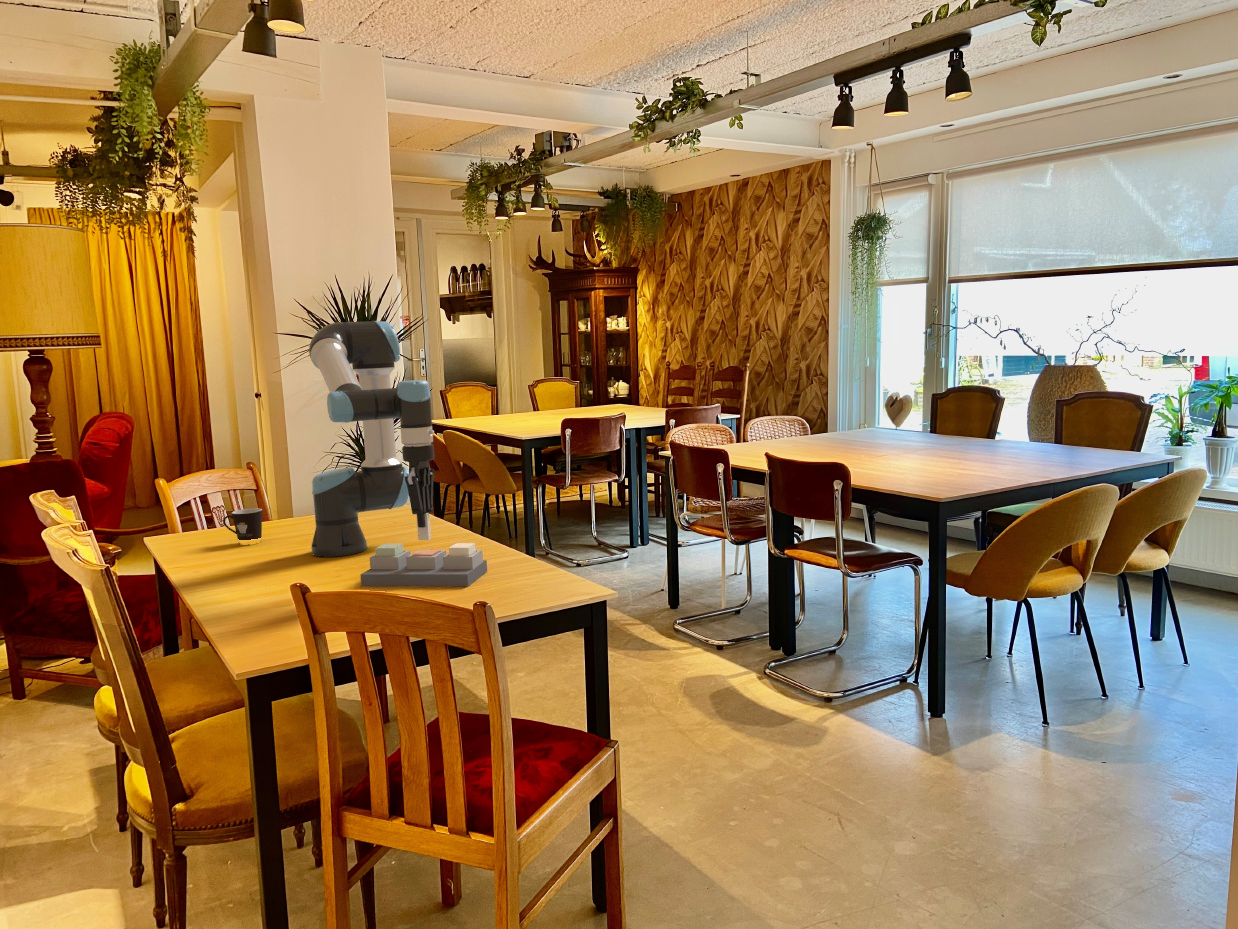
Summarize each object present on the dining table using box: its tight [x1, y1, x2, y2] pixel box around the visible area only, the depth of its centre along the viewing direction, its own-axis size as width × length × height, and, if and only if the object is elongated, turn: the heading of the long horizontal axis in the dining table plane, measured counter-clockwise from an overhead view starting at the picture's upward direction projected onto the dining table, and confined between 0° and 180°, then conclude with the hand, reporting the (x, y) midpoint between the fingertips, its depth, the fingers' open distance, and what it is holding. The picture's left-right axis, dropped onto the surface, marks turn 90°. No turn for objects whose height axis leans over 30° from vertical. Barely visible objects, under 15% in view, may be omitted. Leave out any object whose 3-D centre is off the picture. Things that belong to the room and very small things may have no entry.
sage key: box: [375, 543, 405, 557], centre depth 220 cm, size 5×5×3 cm
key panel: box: [359, 549, 488, 588], centre depth 217 cm, size 27×14×6 cm, turn 80°
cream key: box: [448, 542, 477, 556], centre depth 217 cm, size 5×5×3 cm
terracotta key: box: [412, 549, 441, 556], centre depth 219 cm, size 5×5×3 cm
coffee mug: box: [222, 508, 263, 540], centre depth 272 cm, size 12×9×10 cm
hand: (424, 539), depth 218 cm, fingers closed
